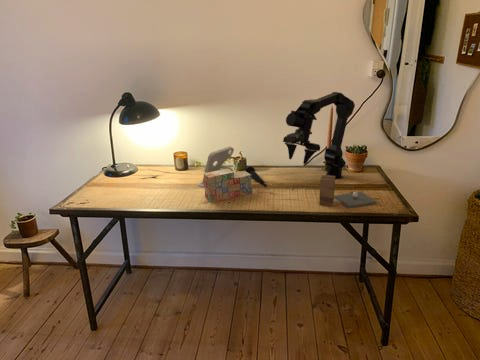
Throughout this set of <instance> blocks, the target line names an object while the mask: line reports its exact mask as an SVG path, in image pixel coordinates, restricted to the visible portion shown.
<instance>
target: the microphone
mask: <svg viewBox="0 0 480 360" xmlns="http://www.w3.org/2000/svg"><path fill="white" fill-rule="evenodd" d="M244 171H246V172H247V173H249V174H251V179H252V180H254V181H256V183H258V184H260V185H262V186H264V187H267V184H266V183H265V181H264V180H263V179H262V177H261V176H260V175H259V174H258V173H257V172H256V169H255V167H254V166H251V165H250V166H247V167H245V169H244Z"/></svg>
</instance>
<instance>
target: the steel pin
mask: <svg viewBox="0 0 480 360" xmlns="http://www.w3.org/2000/svg"><path fill="white" fill-rule="evenodd" d="M358 192H359V191H358V190H357V191H356V190H354V191H353V192H352V193H353V199H357V197H358Z"/></svg>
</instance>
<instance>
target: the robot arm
mask: <svg viewBox="0 0 480 360" xmlns="http://www.w3.org/2000/svg"><path fill="white" fill-rule="evenodd" d="M332 104H333V105H335V112H336V117H337V118H336V123H335V127H334V131H333V134H332V139H331V144H330V145H329V147H326V148H325V150H324V155H323V156H324V161H325V164H326V165H328V167H327V168H326V169H327V171H326V175H330V176H335V180H337V179H342V178H344V177H343V175H342V173H343V168H344V167H346V164H347V162H346V161H345V160H344V158H343V154H344V152H343V150H342V145H343V140H344V135H345V132H346V128H347V123H348V119H349V118H350V117H351V115H352V114H353V112H354V110H355V106H356V105H355V103H354V101H353V100H352V99H351V98H349V97H347V96H345V95H344V94H343V93H342V92H338V91H333V92H331V93H329V94H326V95H324V96H321V97H319V98H316V99H304V100H303V101H302V102H301V104H300V105H299V107H298V108H296V110H291V111H290V113H289V114H287V116H286V117H285V118H286V119H285V123H286V125H287V127H294V128H295V130H294V132H291V133H288V134H286V136H284V137H283V140H282V142H283V143H284V145H285V146H286V147H287V150H288V151H287V152H288V159H289V160H292V159H293V157H294V154H295V153H296V152H295V151H296V150H297V146H298V145H299V146H302V147H304V149H303V150H304V157H303V162H302V163H303V165H306V164H307V163H308V161H309V160H310V159H311V157H313V155H314V154H315V153H317V152H320V151H321V145H320V144H318V143H314V142H311V141H310V136H311V135H312V134H313V132H312V127H313V122H314V121H317V117H316V116H315V115H316V114H318V113H319V112H320V111H321V110H322V109H323V108H326V107H328V106H330V105H332Z"/></svg>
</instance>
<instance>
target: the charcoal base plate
mask: <svg viewBox="0 0 480 360" xmlns="http://www.w3.org/2000/svg"><path fill="white" fill-rule="evenodd" d="M357 192H358V197H357V199H353V192H348V193H343V194H342V193H341V194H337V195H335V194H334V200H337V201H338V202H339V203H340V204H342V205H343V206H344V207H346V208H347V209H352V208H353V209H354V208H359V207H364V206H365V207H366V206H370V205H376V204H377V203H378V201H377V200H375V199H374V198H372V197H371V196H369V195H368V194H366V193H364V192H363V191H357Z"/></svg>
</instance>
